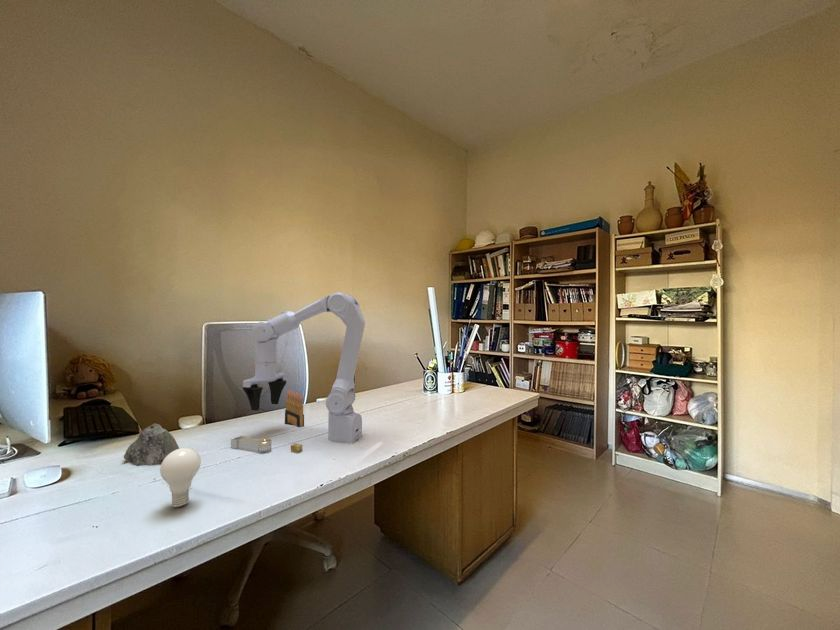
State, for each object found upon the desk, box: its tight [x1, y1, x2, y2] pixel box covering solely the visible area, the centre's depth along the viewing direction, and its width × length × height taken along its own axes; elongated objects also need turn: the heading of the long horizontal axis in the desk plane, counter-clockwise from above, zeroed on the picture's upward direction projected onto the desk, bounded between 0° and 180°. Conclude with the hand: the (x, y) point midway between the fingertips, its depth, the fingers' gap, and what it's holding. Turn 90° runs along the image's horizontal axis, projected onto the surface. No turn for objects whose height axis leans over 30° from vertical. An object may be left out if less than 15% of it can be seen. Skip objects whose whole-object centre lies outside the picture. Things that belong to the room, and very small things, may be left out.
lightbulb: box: [159, 447, 202, 508], centre depth 64 cm, size 6×6×11 cm
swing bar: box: [230, 435, 272, 454], centre depth 89 cm, size 12×3×3 cm, turn 71°
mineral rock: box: [123, 423, 180, 467], centre depth 83 cm, size 13×11×10 cm
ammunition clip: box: [284, 389, 305, 428], centre depth 111 cm, size 11×2×12 cm, turn 46°
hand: (265, 406), depth 100 cm, fingers open, 7 cm apart
